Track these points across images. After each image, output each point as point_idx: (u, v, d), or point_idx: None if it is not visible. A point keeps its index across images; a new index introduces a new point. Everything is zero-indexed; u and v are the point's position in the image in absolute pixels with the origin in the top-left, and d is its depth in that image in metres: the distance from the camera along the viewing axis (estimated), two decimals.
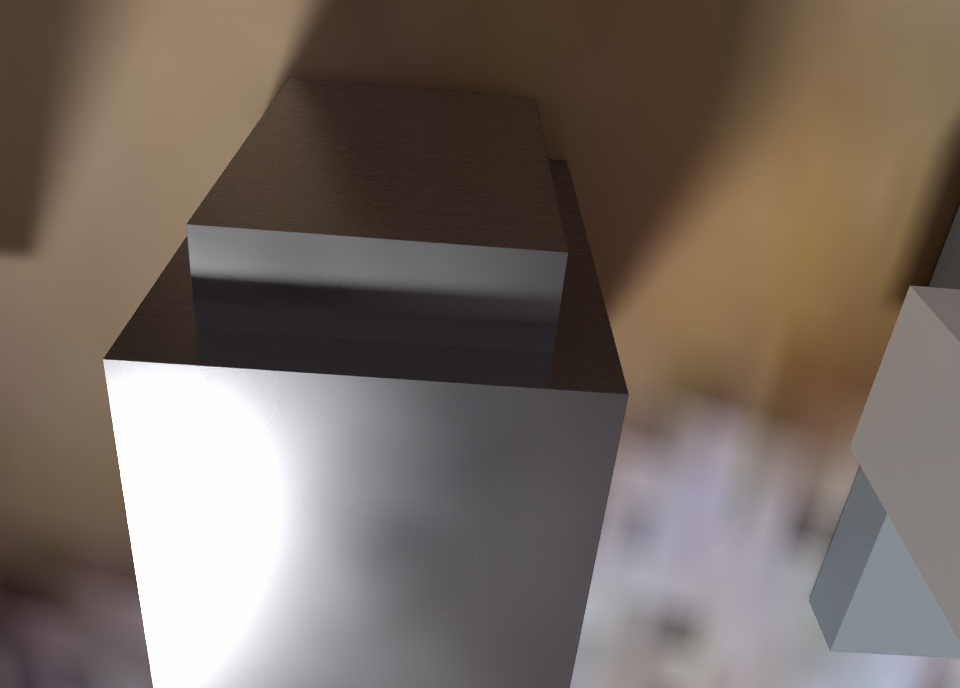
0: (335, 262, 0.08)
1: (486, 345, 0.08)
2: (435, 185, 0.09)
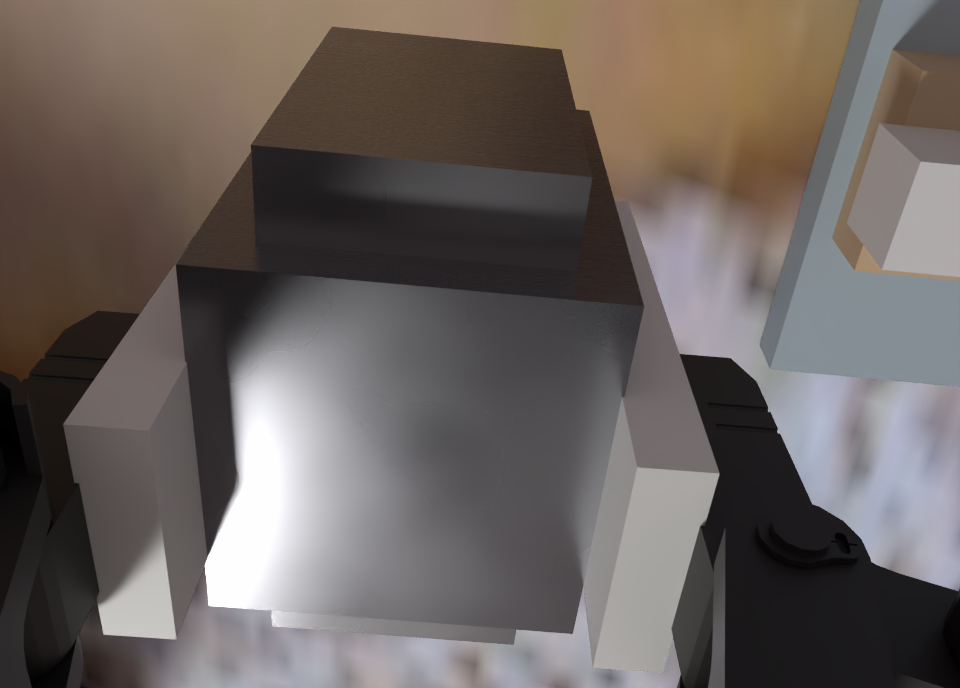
0: (382, 182, 0.09)
1: (515, 263, 0.09)
2: (471, 120, 0.10)
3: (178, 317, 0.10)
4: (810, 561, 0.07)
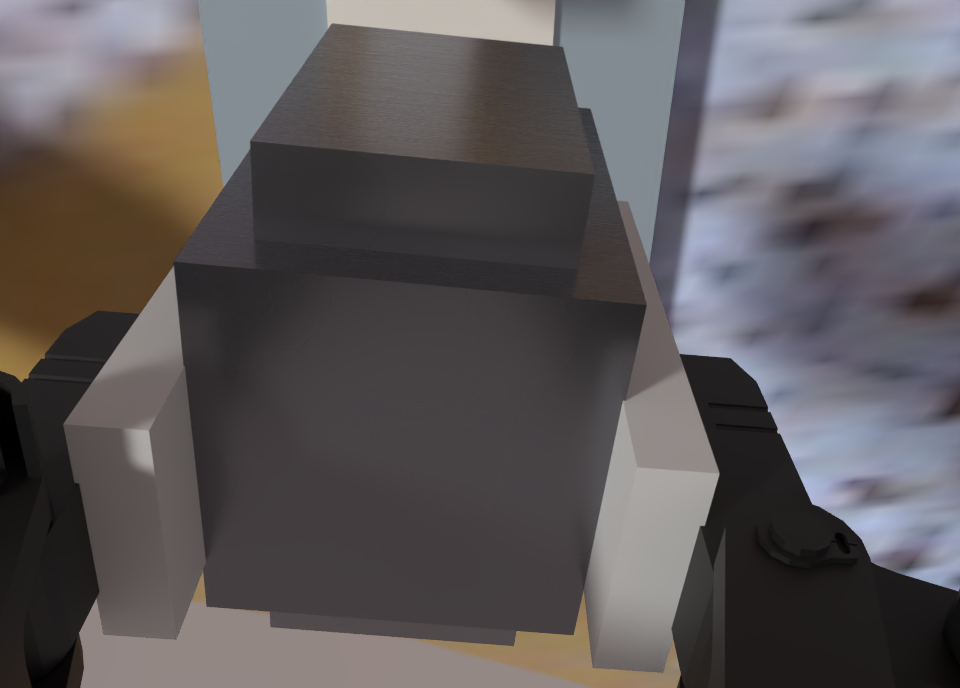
0: (383, 179, 0.08)
1: (518, 260, 0.09)
2: (472, 117, 0.09)
3: None
4: (810, 561, 0.07)
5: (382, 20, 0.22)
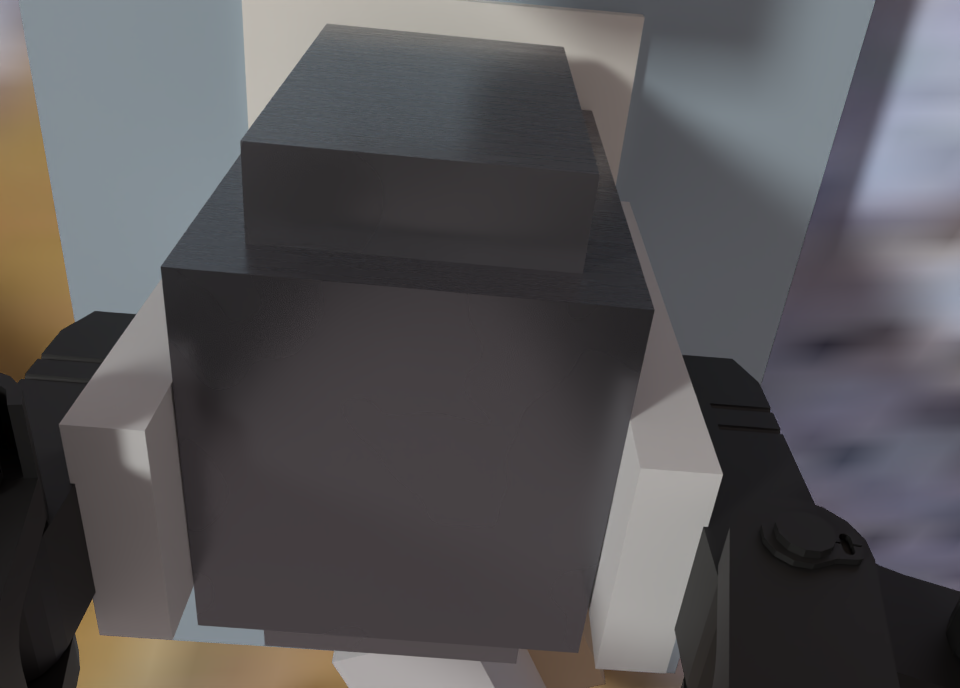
0: (379, 180, 0.08)
1: (519, 264, 0.09)
2: (472, 115, 0.09)
3: None
4: (815, 562, 0.07)
5: None
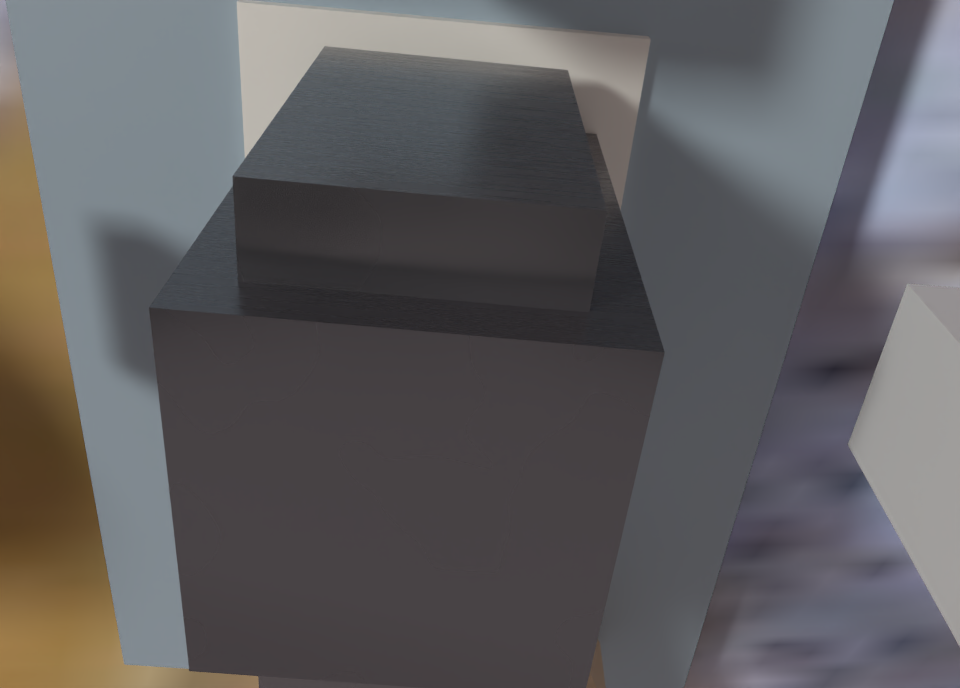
0: (377, 217, 0.08)
1: (523, 302, 0.08)
2: (473, 147, 0.09)
3: None
4: None
5: None
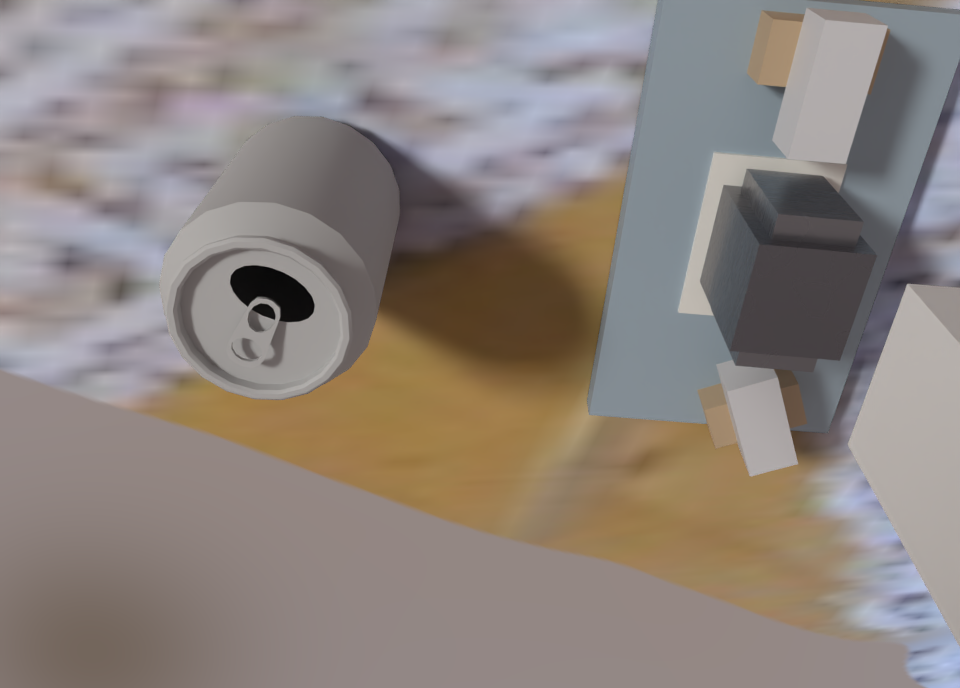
0: (809, 223, 0.33)
1: (839, 244, 0.33)
2: (821, 205, 0.34)
3: None
4: None
5: (742, 176, 0.38)
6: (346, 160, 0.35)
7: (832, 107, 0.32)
